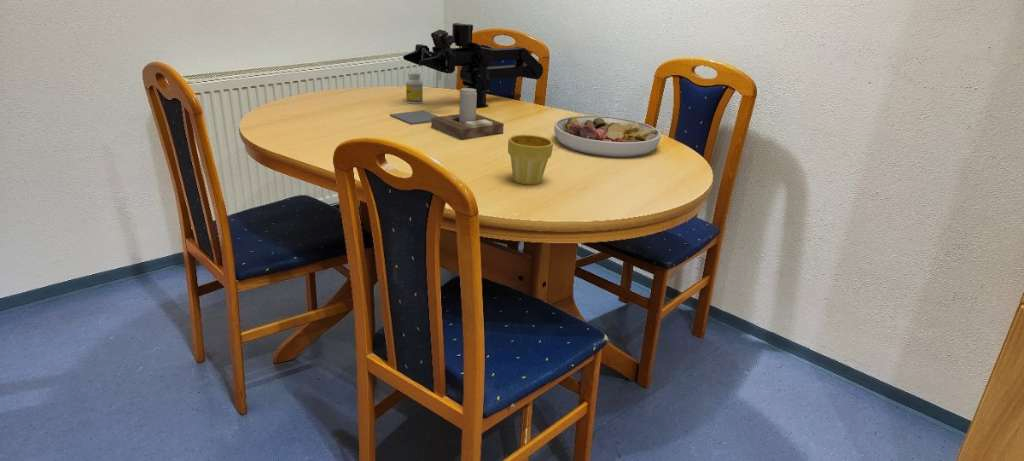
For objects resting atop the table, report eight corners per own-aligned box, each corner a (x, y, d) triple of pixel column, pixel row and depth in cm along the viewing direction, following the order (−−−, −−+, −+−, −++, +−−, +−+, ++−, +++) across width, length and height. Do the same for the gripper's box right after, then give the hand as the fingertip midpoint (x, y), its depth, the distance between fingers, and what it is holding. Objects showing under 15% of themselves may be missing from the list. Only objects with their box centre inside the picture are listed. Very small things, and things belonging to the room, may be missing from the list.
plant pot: (558, 181, 159) (562, 141, 155) (530, 190, 151) (533, 148, 148) (525, 170, 165) (528, 131, 161) (496, 179, 158) (498, 138, 154)
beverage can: (475, 129, 199) (477, 88, 194) (475, 133, 194) (476, 91, 190) (459, 128, 198) (460, 87, 194) (458, 132, 194) (459, 90, 189)
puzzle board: (472, 122, 206) (472, 109, 205) (503, 133, 196) (503, 120, 194) (431, 127, 197) (431, 114, 195) (461, 140, 187) (461, 126, 185)
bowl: (580, 126, 211) (583, 101, 208) (672, 144, 198) (676, 118, 194) (534, 145, 187) (536, 118, 184) (635, 168, 173) (639, 138, 170)
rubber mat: (423, 111, 214) (423, 110, 214) (444, 120, 206) (444, 118, 206) (390, 115, 207) (390, 114, 207) (411, 124, 199) (411, 123, 198)
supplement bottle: (405, 100, 228) (405, 71, 224) (420, 100, 229) (421, 71, 226) (407, 104, 223) (407, 74, 219) (423, 104, 225) (424, 74, 221)
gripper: (437, 27, 218) (395, 28, 208) (471, 35, 205) (428, 36, 196) (436, 62, 222) (395, 65, 213) (470, 72, 209) (428, 75, 200)
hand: (411, 59), depth 205 cm, fingers open, 9 cm apart
